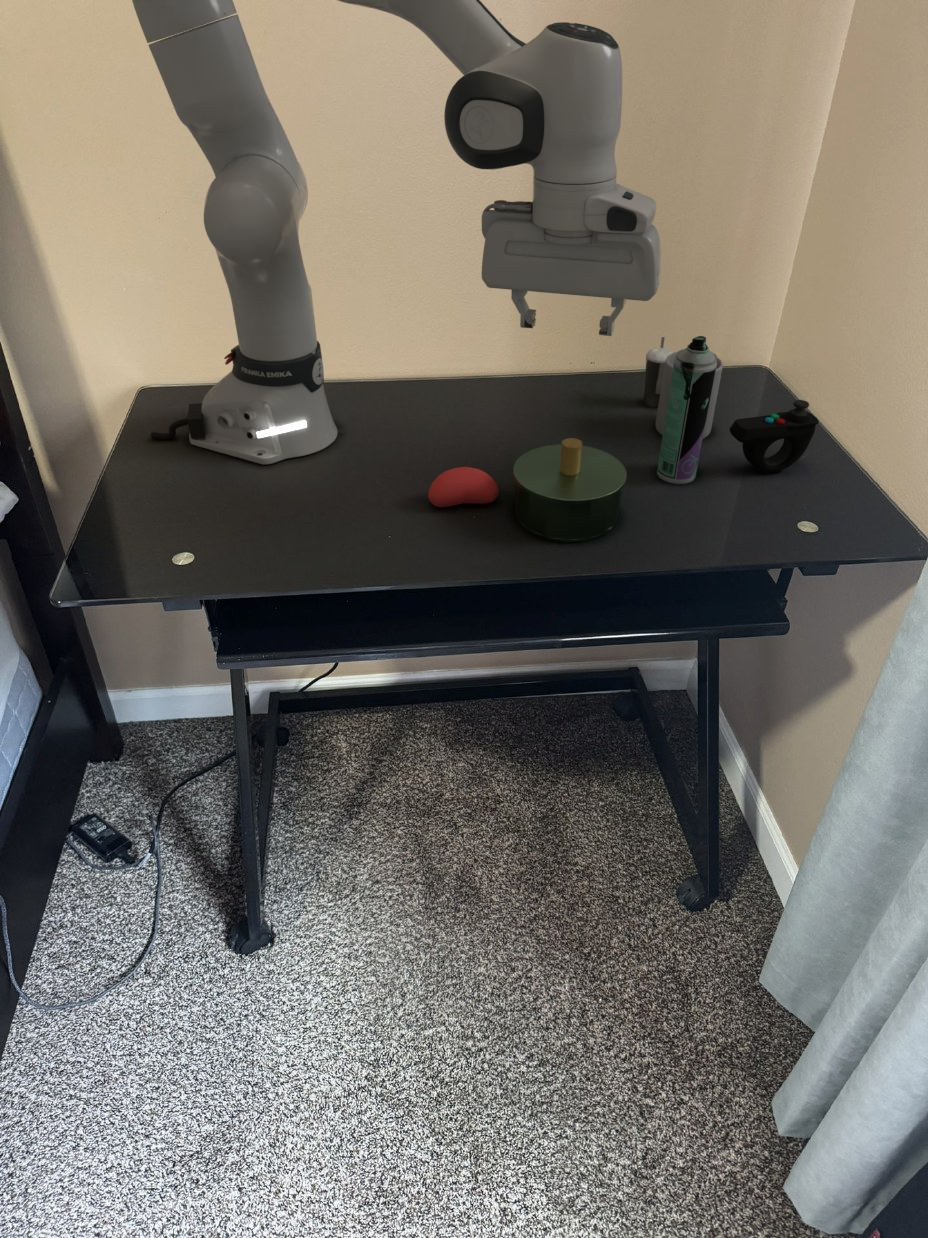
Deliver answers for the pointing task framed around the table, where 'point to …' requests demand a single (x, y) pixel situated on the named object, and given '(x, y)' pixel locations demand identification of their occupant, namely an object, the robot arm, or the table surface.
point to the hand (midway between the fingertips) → (566, 330)
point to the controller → (776, 436)
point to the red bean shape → (462, 487)
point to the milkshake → (655, 374)
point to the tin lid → (569, 473)
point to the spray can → (686, 412)
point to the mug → (666, 388)
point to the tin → (566, 517)
